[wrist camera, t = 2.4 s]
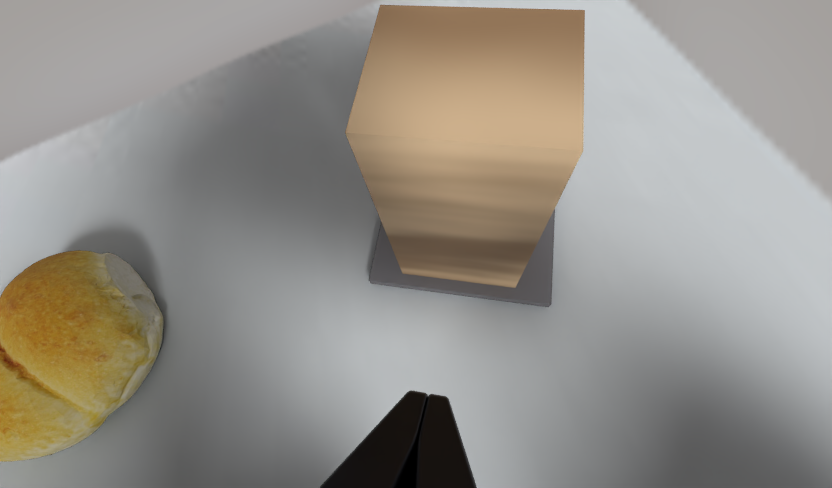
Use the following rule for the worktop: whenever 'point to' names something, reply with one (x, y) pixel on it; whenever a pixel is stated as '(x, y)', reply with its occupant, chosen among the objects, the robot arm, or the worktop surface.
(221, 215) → the worktop surface
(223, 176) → the worktop surface
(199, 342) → the worktop surface
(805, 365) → the worktop surface
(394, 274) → the mat
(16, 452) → the bread roll
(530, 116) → the oak block
